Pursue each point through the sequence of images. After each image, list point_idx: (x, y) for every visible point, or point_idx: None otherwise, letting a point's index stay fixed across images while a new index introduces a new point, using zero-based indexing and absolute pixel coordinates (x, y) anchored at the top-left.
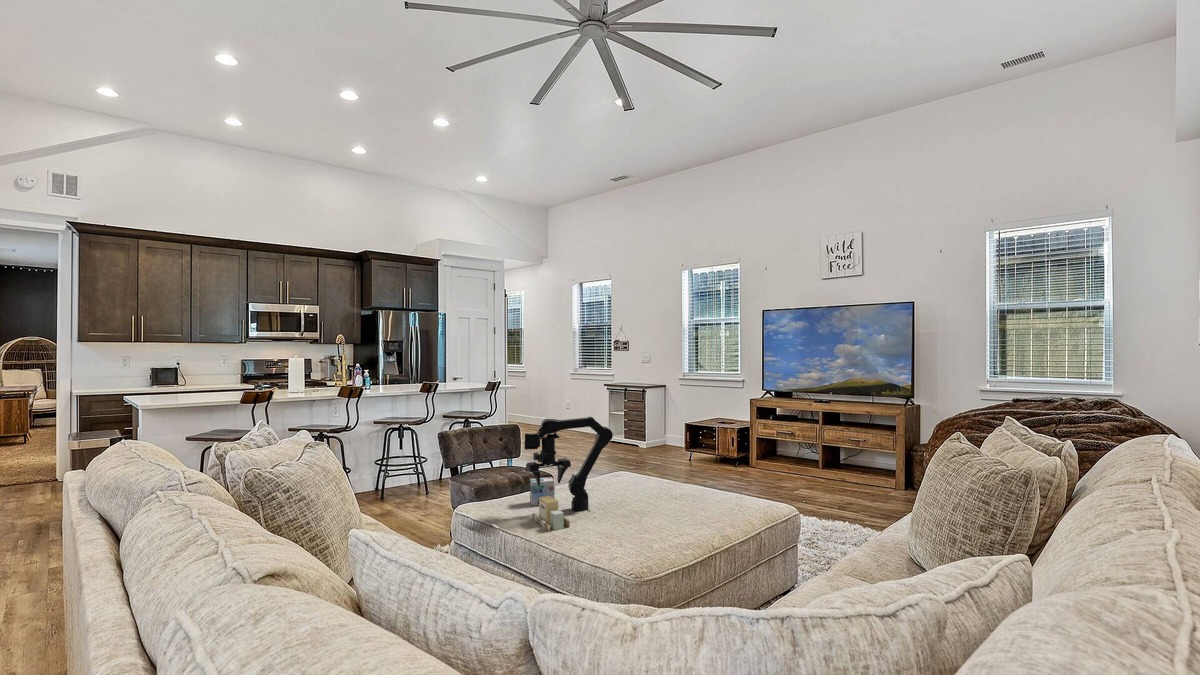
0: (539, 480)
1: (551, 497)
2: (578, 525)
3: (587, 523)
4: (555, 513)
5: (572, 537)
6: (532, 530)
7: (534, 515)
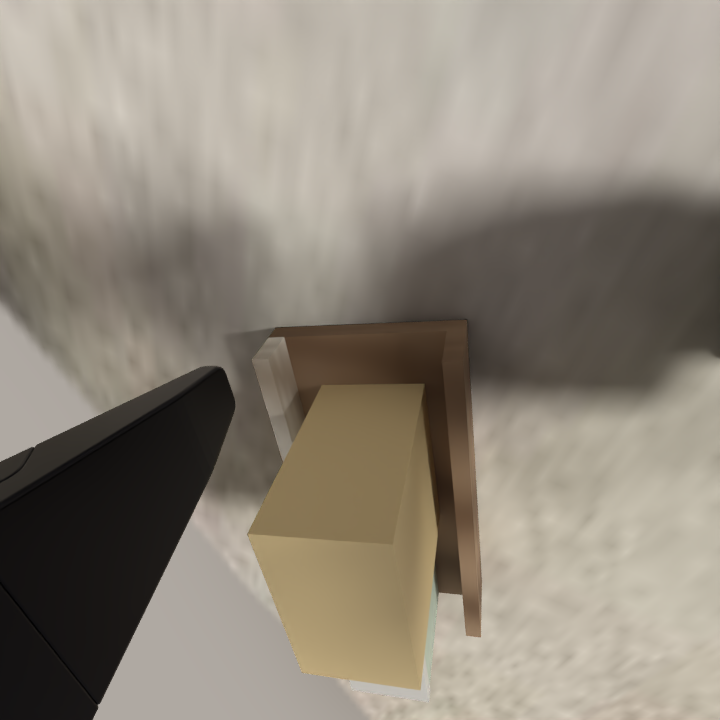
0: (166, 546)
1: (388, 594)
2: (577, 553)
3: (664, 554)
4: (367, 684)
5: (451, 651)
6: (259, 493)
7: (268, 408)
